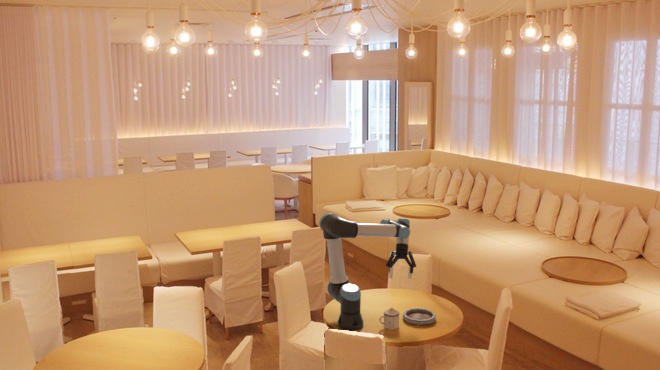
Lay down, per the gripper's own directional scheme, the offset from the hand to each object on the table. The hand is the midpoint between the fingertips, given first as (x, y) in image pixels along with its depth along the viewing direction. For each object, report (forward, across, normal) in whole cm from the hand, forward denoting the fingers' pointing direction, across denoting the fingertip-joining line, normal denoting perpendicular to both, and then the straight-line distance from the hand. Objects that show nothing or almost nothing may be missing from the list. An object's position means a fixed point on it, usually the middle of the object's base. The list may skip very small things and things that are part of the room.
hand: (400, 278), depth 388 cm
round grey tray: (+23, -10, -8) cm, 26 cm away
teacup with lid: (+29, -2, +12) cm, 32 cm away
